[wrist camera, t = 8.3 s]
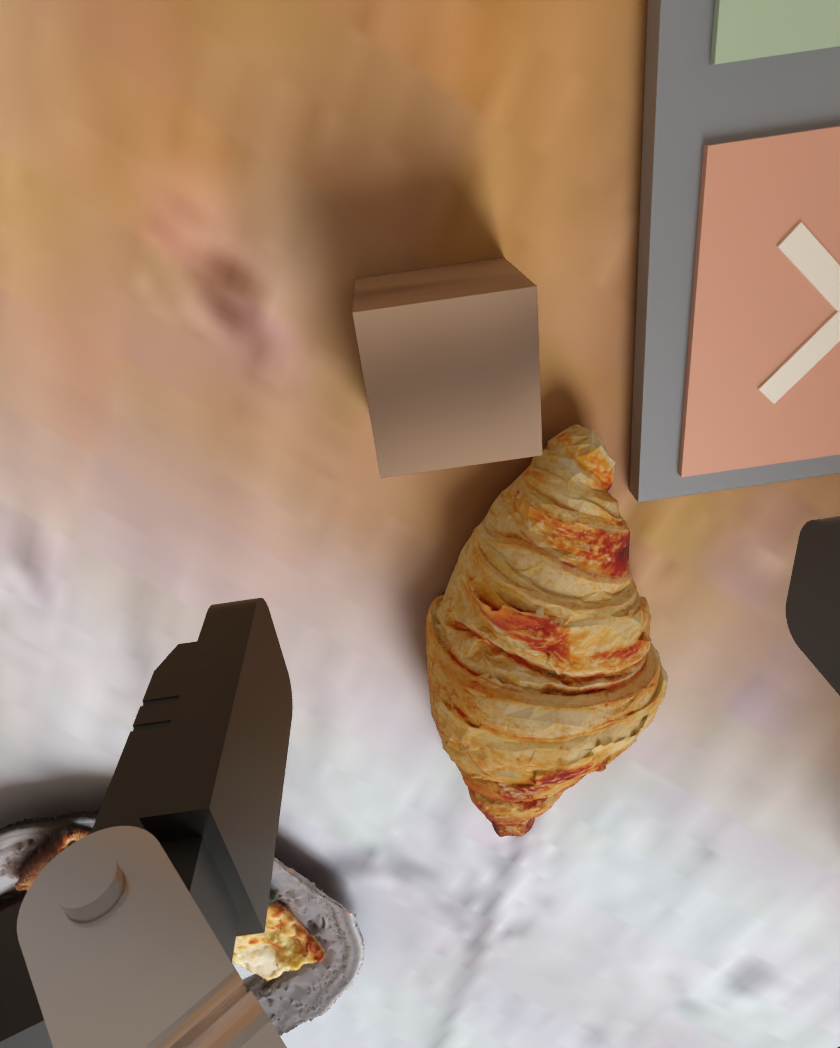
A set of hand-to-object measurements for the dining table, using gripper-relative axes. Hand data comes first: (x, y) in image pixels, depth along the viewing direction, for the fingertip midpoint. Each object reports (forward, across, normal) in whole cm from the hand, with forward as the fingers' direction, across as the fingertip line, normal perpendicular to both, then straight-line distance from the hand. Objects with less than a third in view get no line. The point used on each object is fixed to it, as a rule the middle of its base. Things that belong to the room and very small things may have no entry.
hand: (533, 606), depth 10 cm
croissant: (+16, -3, +14) cm, 21 cm away
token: (+15, 0, 0) cm, 15 cm away
